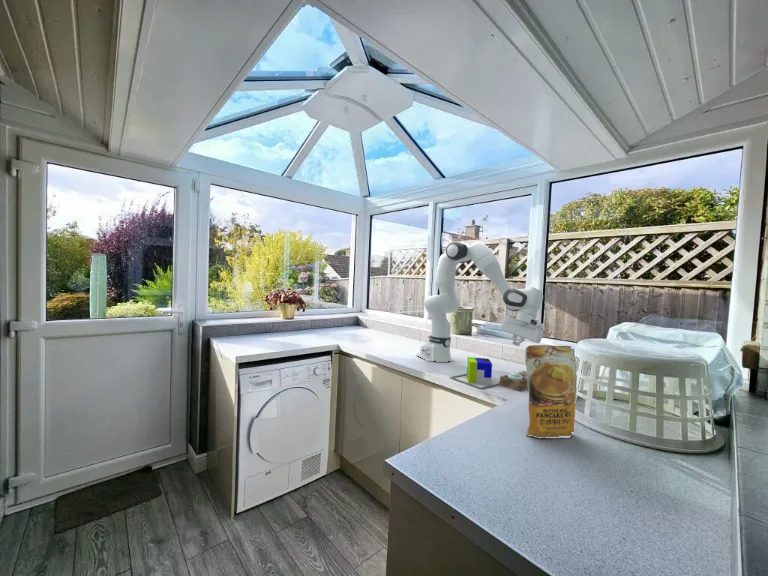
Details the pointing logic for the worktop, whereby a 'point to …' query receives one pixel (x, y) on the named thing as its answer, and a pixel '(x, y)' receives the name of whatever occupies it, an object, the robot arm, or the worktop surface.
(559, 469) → the worktop surface
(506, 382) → the brown wooden box
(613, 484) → the worktop surface
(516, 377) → the dome button
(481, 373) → the puzzle toy
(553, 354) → the pancake mix bag
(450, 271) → the robot arm
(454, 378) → the frame
